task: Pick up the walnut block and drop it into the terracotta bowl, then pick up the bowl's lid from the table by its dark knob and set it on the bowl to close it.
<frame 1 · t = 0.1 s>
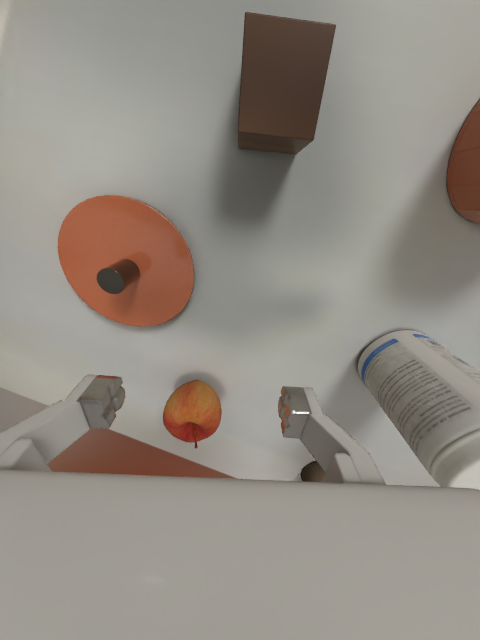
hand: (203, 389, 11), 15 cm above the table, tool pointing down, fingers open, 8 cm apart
apple: (198, 387, 32), on the table
bowl lid: (130, 269, 23), point 1 cm above the table
block: (271, 112, 17), on the table
supplement tub: (391, 356, 29), on the table
pillar candle: (325, 470, 43), on the table
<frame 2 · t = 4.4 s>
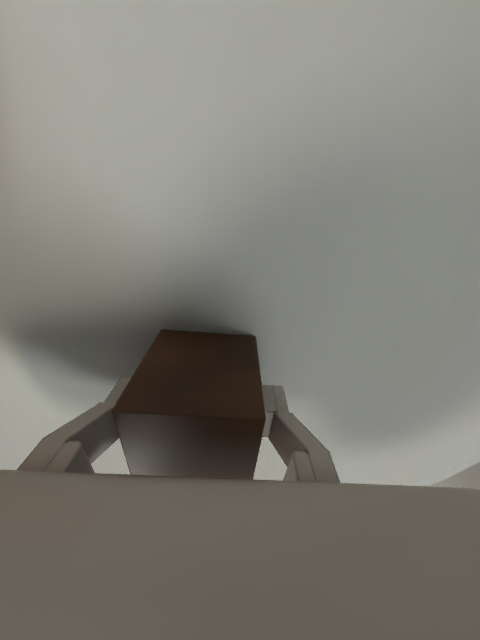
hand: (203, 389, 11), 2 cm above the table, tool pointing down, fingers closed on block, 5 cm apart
block: (207, 368, 13), on the table, touching gripper
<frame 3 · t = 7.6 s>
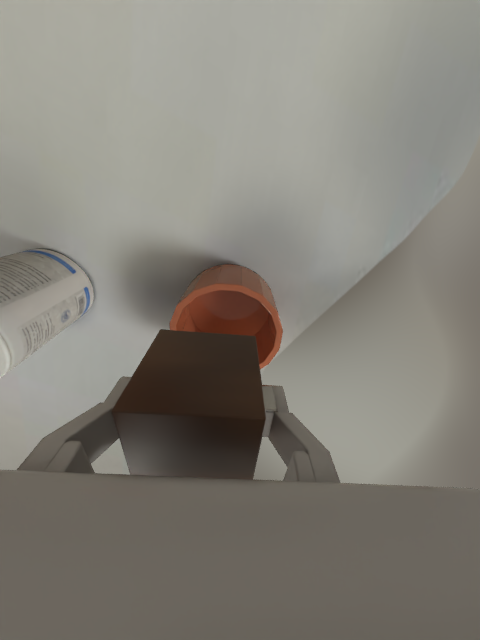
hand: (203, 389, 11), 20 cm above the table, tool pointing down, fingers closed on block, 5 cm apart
block: (207, 368, 13), point 18 cm above the table, touching gripper
bowl: (229, 307, 31), on the table
supplement tub: (61, 283, 29), on the table
when the fingers open (7 cm above the table, at t = 10.7 s): block drops 5 cm, resting on bowl.
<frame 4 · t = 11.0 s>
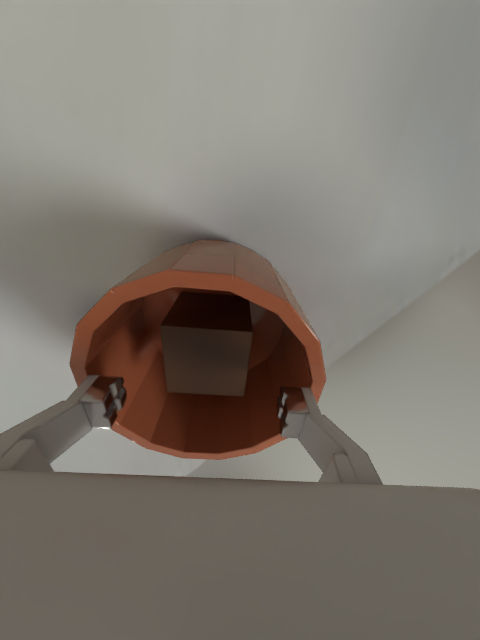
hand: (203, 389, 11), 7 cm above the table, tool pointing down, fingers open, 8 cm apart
block: (214, 323, 17), point 1 cm above the table, touching bowl
bowl: (215, 320, 18), on the table
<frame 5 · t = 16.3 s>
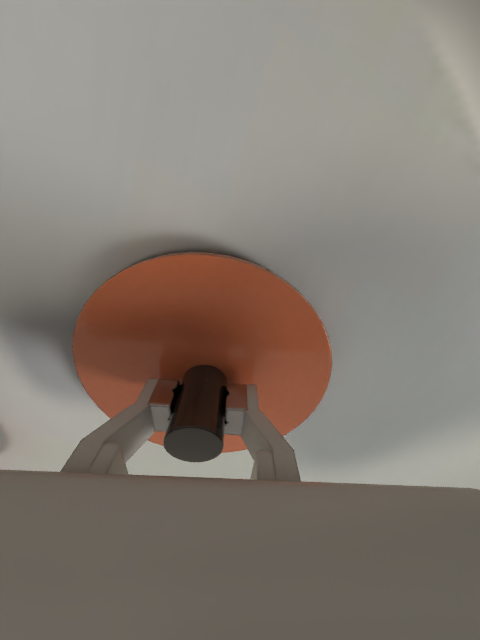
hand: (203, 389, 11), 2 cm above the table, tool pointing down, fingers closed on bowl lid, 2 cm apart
bowl lid: (206, 374, 12), point 1 cm above the table, touching gripper
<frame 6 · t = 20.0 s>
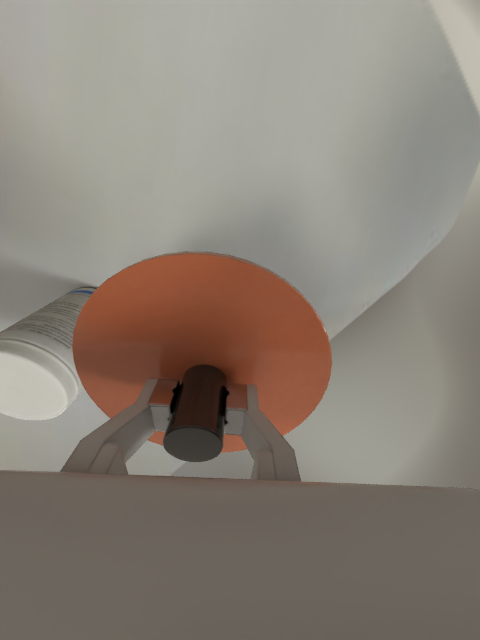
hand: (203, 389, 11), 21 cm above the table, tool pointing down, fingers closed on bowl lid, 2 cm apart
bowl lid: (206, 374, 12), point 20 cm above the table, touching gripper
supplement tub: (101, 315, 33), on the table
when the fingers open (9 cm above the table, at t = 23.9 s): bowl lid stays where it is, resting on bowl.
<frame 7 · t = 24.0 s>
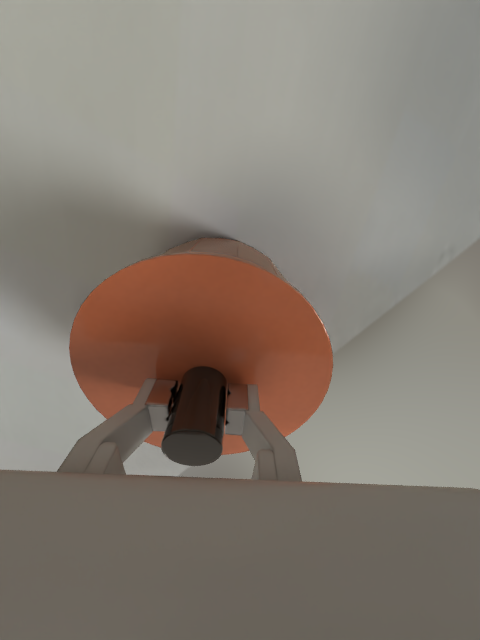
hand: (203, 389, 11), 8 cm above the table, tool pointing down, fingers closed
bowl lid: (205, 376, 12), point 7 cm above the table, touching bowl
bowl: (217, 314, 19), on the table
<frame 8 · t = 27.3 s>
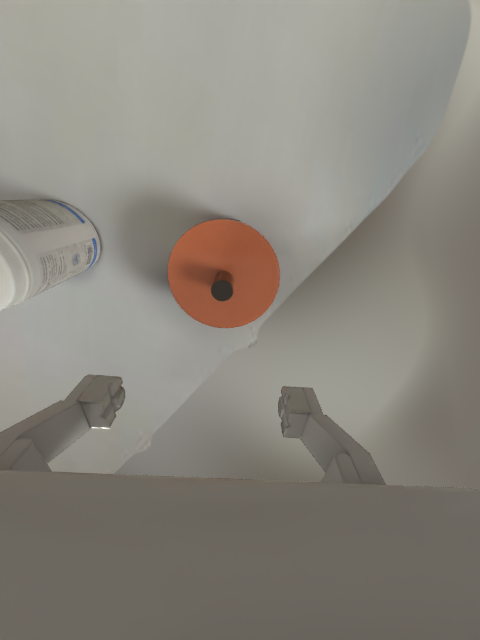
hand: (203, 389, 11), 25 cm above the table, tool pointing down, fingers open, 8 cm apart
bowl lid: (224, 279, 27), point 7 cm above the table, touching bowl
supplement tub: (70, 237, 31), on the table
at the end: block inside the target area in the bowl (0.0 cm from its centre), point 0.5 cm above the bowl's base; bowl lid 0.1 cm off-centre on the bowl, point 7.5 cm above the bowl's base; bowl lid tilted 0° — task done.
